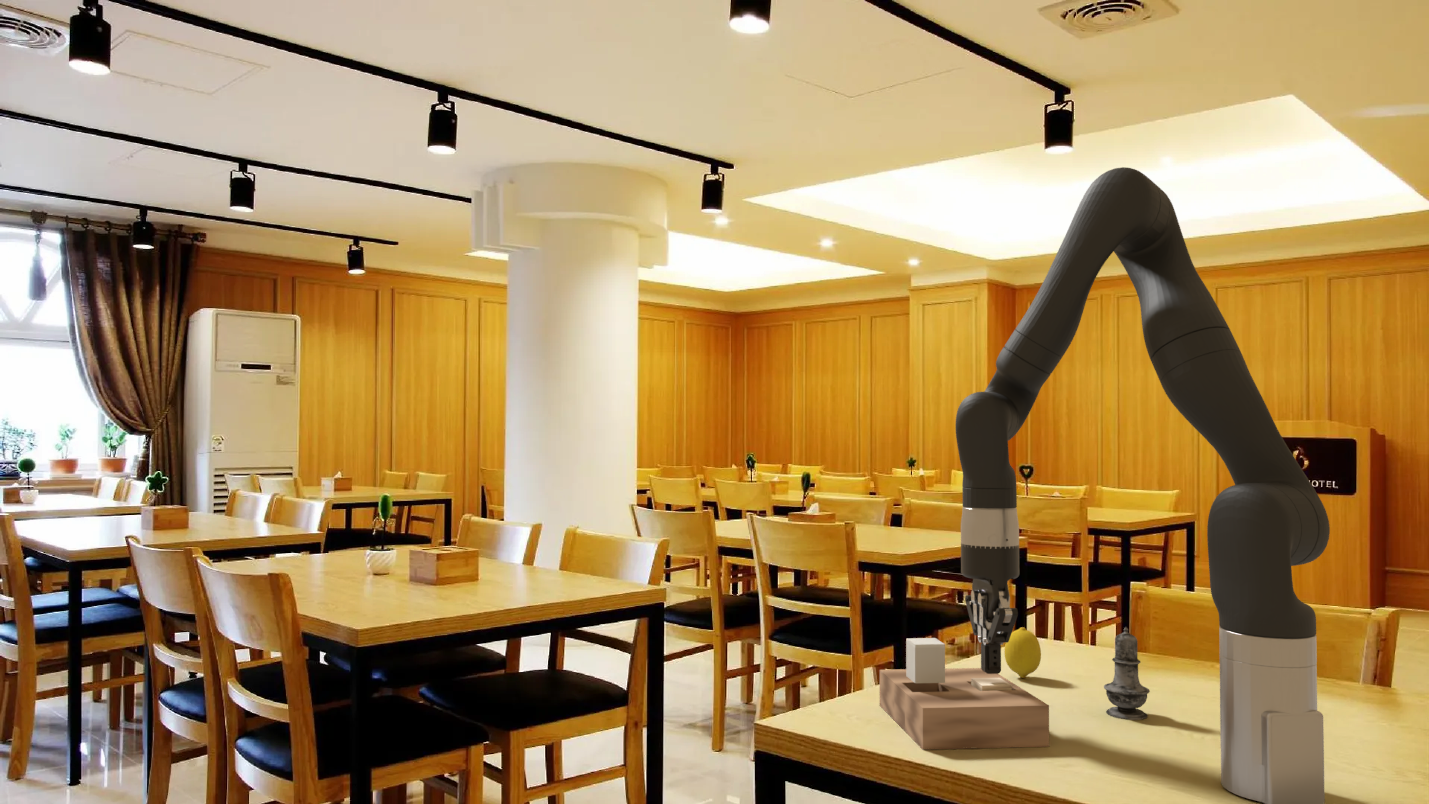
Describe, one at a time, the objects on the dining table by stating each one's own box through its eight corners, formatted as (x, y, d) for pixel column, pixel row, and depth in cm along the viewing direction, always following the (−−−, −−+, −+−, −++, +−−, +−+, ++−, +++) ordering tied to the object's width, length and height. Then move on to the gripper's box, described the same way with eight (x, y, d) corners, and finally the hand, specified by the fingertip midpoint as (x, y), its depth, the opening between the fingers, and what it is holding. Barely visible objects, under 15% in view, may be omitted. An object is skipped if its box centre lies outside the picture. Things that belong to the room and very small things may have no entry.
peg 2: (1011, 723, 130) (1011, 685, 130) (982, 724, 130) (982, 685, 130) (1000, 715, 134) (999, 677, 134) (971, 715, 134) (971, 678, 134)
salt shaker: (1154, 721, 133) (1153, 631, 134) (1108, 718, 135) (1107, 629, 135) (1144, 709, 139) (1143, 623, 140) (1100, 707, 140) (1099, 622, 141)
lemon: (997, 676, 159) (997, 625, 159) (1024, 672, 161) (1023, 623, 161) (1021, 683, 154) (1021, 631, 154) (1048, 680, 156) (1048, 629, 156)
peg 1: (945, 682, 129) (944, 644, 130) (915, 683, 129) (915, 644, 129) (935, 675, 133) (935, 638, 134) (906, 675, 133) (906, 638, 133)
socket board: (1049, 746, 122) (1049, 705, 122) (922, 749, 121) (922, 708, 121) (988, 703, 142) (988, 667, 142) (879, 705, 141) (879, 669, 141)
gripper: (1037, 546, 126) (1039, 683, 126) (997, 536, 140) (998, 661, 139) (981, 546, 126) (982, 685, 125) (945, 537, 139) (946, 662, 138)
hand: (990, 672), depth 132 cm, fingers closed
